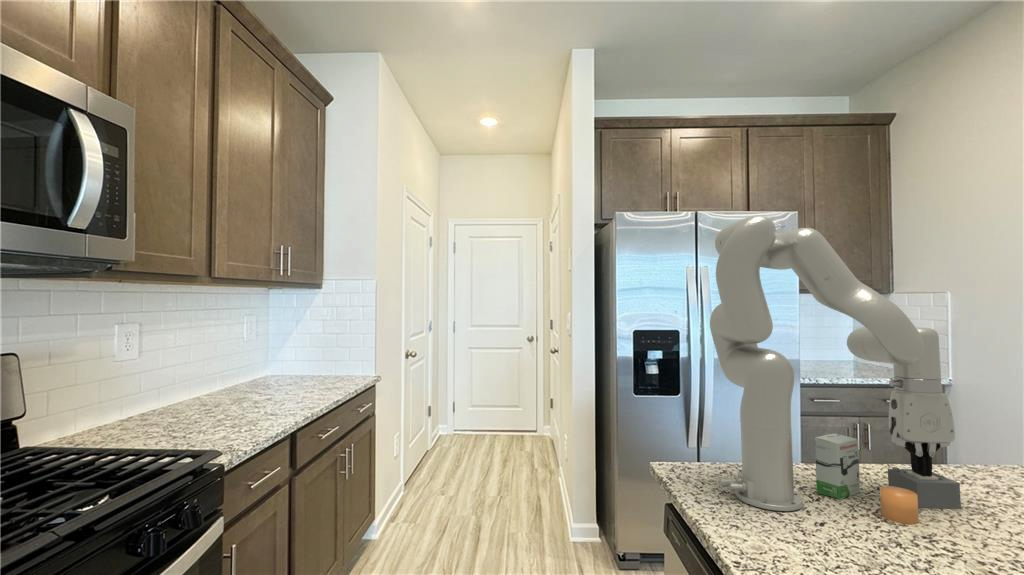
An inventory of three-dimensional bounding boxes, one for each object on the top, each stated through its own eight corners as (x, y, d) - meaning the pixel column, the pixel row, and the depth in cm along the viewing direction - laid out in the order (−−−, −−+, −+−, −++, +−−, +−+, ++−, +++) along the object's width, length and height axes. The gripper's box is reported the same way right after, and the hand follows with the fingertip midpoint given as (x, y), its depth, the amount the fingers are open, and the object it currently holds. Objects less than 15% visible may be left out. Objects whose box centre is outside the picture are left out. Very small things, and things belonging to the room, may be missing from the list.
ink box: (839, 500, 95) (837, 443, 96) (815, 492, 100) (812, 437, 100) (862, 492, 99) (859, 437, 100) (837, 485, 104) (834, 432, 104)
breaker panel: (918, 507, 92) (916, 479, 92) (888, 491, 100) (887, 465, 100) (961, 508, 91) (959, 480, 91) (928, 493, 99) (926, 466, 99)
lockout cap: (894, 524, 85) (893, 496, 85) (874, 511, 90) (873, 485, 91) (926, 525, 84) (925, 497, 85) (904, 512, 90) (902, 486, 90)
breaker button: (920, 499, 94) (919, 477, 94) (907, 492, 97) (906, 471, 97) (939, 500, 93) (938, 477, 94) (925, 493, 97) (924, 471, 97)
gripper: (892, 388, 93) (897, 479, 92) (971, 389, 92) (977, 481, 91) (867, 382, 101) (871, 467, 100) (940, 383, 100) (945, 468, 99)
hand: (921, 473), depth 96 cm, fingers closed
